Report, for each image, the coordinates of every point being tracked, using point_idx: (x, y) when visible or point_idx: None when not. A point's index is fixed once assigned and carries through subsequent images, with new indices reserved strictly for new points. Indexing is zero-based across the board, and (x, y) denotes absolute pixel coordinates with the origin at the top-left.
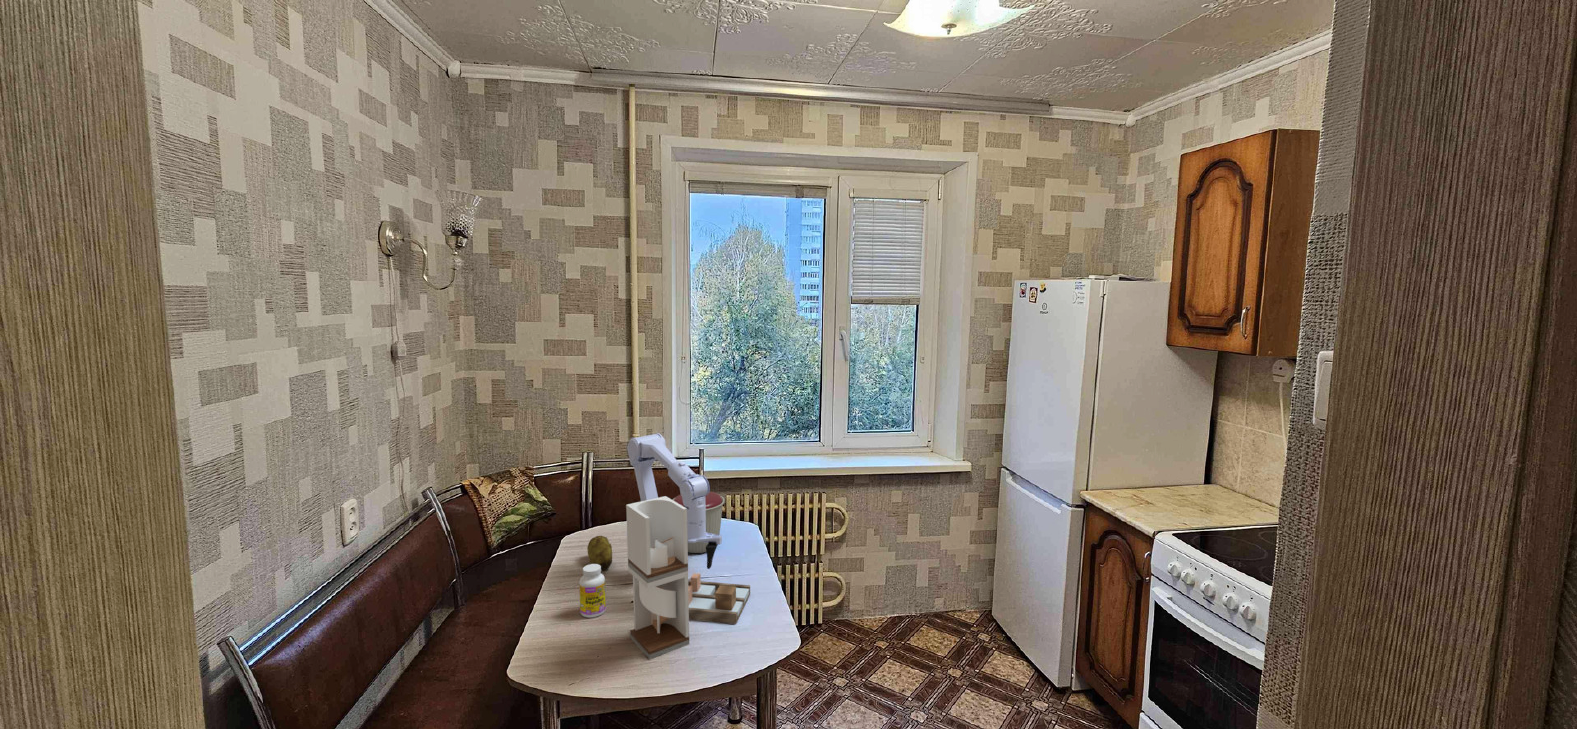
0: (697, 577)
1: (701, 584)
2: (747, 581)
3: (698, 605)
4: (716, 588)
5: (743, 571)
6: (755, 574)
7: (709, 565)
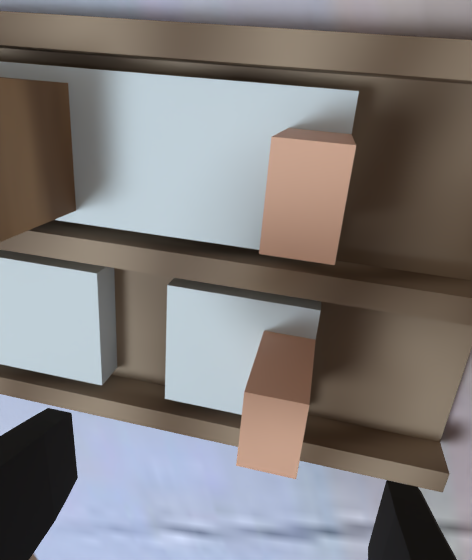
0: (245, 407)
1: None
2: None
3: (207, 127)
4: None
5: (109, 555)
6: None
7: (7, 432)
